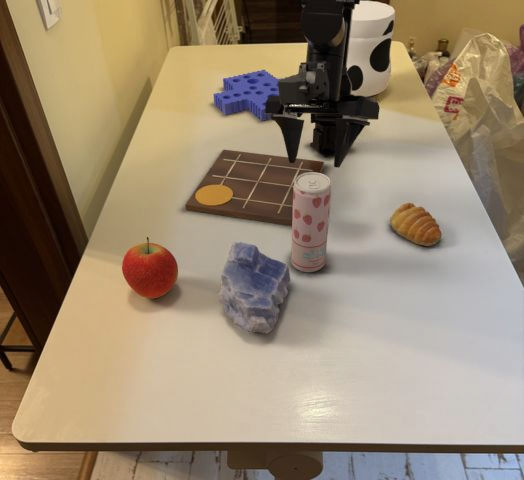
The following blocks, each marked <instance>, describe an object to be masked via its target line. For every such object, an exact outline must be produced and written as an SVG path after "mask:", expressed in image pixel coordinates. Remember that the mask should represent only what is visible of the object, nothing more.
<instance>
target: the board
mask: <svg viewBox="0 0 524 480" xmlns="http://www.w3.org/2000/svg"><path fill="white" fill-rule="evenodd" d="M324 168H325V161H321V160H313V159H305V158H297V157H296V160H295V163H290V162H289V159H288V156H281V155H273V154H265V153H257V152H256V153H255V152H249V151H239V150H231V149H222V151H221V152H220V154H218V156H217V158H216V159H215V161H214V162H213V164H212V165H211V167H210V168H209V170H208V171H207V172H206V174H205V176H203V178H202V180H201V181H200V183H199V184H198V185H197V187H196V188H195V190H194V191H193V193H192V194H191V196H190V197H189V199H188V200H187V201H186V203H185V204H184V205H185V210H186V211H192V212H198V213H204V214H210V215H211V214H212V215H217V216H224V217H230V218H236V219H237V218H238V219H243V220H244V219H245V220H250V221H258V222H265V223H271V224H277V225H283V226H290V227H292V216H293V187H294V184H295V183H294V182H295V179H296V178H297V177H298V176H299V175H301V174H303V173H308V172H317V173H321V174H322V172H323V170H324Z"/></svg>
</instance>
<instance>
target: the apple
mask: <svg viewBox="0 0 524 480" xmlns="http://www.w3.org/2000/svg"><path fill="white" fill-rule="evenodd" d="M149 240H150V238H149V236H146V241H147V242H142V243H138V244H137V243H136V245H133V246H132V247H130V248H129V249H128V250H127V252H126V253H125V255H124V256H123V260H122V263H121V272H122V275H123V277H124V279H125V281H126V283H127V284H128V286H129V287H130V288H131V289H132V290H133V291H134V292H135V293H136V294H138V295H139V296H141V297H143V298H145V299H156V298H157V299H158V298H160V297H162V296H164V295H166V294H167V293H168V292H169V291H171V290H172V288H173V287H174V286H175V284H176V282H177V280H178V278H179V277H178V276H179V266H178V262H177V259H176V258H175V256H174V254H172V253H171V251H170V250H169V249H167V248H166V247H164V246H162V245H161V244H158V243H153V242H150V241H149Z"/></svg>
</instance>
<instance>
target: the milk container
mask: <svg viewBox="0 0 524 480" xmlns="http://www.w3.org/2000/svg"><path fill="white" fill-rule="evenodd" d="M395 21H396V10H395V9H394V7H393V6H392V5H390V4H387V3H383V2H380V1H373V0H360V4H356V5H355V10H353V14H352V23H351V32H350V41H349V50H348V59H347V74H348V76H349V79H350V81H351V84H352V92H351V94H354V96H365V97H369V98H374V97H378V96H379V95H380V94H382V93H383V92H384V91H385V90H386V89H387V88H388V85H389V82H390V78H391V75H392V61H391V49H392V43H393V42H392V41H393V37H394V27H395Z"/></svg>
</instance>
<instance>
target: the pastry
mask: <svg viewBox="0 0 524 480" xmlns="http://www.w3.org/2000/svg"><path fill="white" fill-rule="evenodd" d="M389 223H390V226H391V227H392V230H393V231H395V232H396V233H397V234H398V235H399V236H401V237H402V238H405V239H406V240H407V241H410V242H411V243H413V244H415V245H421V246H425V247H429V246H430V247H431V246H433V245H435V244H437V243H438V242H439V241H440V239H442V235H443V234H442V230H441V228H440V224H438V223H437V221H436V219H435V218H434V217H433V216H432V214H431V213H430V211H426V209H425V208H424V207H423V206H416V205H415V204H414V203H412V202H407V203H403V204H401V205H400V206H399V207H398V208H396V209H395V210H394V212H393V213H392V215H391V216H390V219H389Z"/></svg>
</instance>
